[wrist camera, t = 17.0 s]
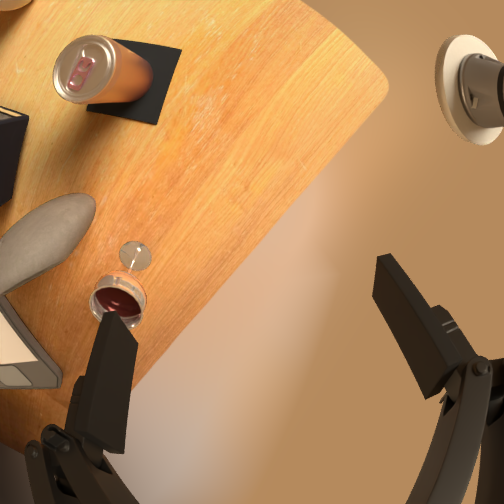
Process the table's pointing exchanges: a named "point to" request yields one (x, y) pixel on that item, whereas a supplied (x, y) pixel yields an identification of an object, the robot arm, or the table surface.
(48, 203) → the smooth grey egg stone
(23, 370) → the laptop
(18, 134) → the speaker
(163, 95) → the table mark
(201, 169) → the table surface
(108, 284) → the wineglass
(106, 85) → the beverage can
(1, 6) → the mug
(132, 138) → the table surface
